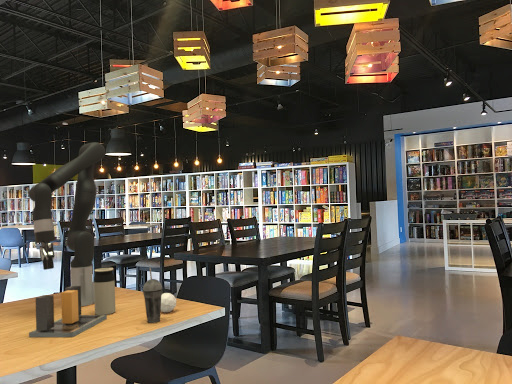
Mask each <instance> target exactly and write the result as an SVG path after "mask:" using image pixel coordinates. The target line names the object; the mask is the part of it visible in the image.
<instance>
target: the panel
mask: <svg viewBox="0 0 512 384" xmlns="http://www.w3.org/2000/svg"><path fill="white" fill-rule="evenodd" d="M67 290H78V317H79V320H78V321H76V322H74V323H62V317H61V318H58V319H57V320H55V306H54V305H55V302H54V297H55V296H54V294H53V295H52V294H51V295H49V294H47V295H40V296H37V297H35V329H34V330H31V331H30V332H28V337H29V338H74V337H75V336H77V335H79V334H82V333H83V332H85V331H87V330H89V329H91V328H93V327H94V326H96V325H98V324H100V323H102V322H103V321H106V320H107V319H108V316H107V315H96V314H82V306H81V286H71V285H70V286H68V287H65V288H64V292H65V291H67Z"/></svg>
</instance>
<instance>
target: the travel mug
mask: <svg viewBox="0 0 512 384" xmlns="http://www.w3.org/2000/svg"><path fill="white" fill-rule="evenodd" d="M94 272H95V273H94V274H95V275H94V277H93V282H94V298H95V303H94V315H111V314H114V313H115V312H116V287H115V286H116V285H115V282H116V280H115V274H114V268H113V267H103V268H96V269H94Z"/></svg>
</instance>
